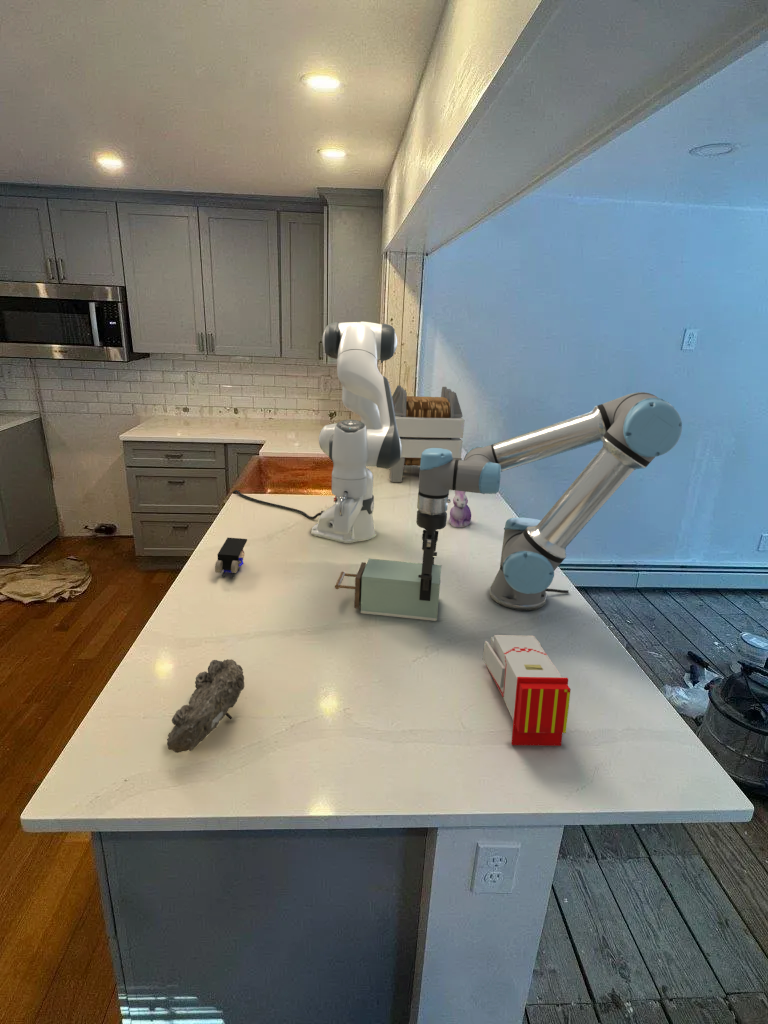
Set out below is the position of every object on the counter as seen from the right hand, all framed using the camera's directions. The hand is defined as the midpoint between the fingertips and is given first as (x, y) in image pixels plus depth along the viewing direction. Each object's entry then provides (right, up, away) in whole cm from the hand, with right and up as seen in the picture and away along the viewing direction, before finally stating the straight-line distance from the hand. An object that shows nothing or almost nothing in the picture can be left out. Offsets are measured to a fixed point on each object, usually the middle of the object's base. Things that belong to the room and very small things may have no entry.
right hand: (426, 589), depth 149 cm
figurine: (+17, +16, +63) cm, 67 cm away
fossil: (-44, -19, -41) cm, 63 cm away
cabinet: (-7, -5, +3) cm, 9 cm away
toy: (+16, -18, -31) cm, 40 cm away
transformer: (+6, +39, +126) cm, 132 cm away
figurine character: (-56, +3, +19) cm, 59 cm away
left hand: (-20, +14, -2) cm, 25 cm away
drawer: (-12, -4, +3) cm, 13 cm away
